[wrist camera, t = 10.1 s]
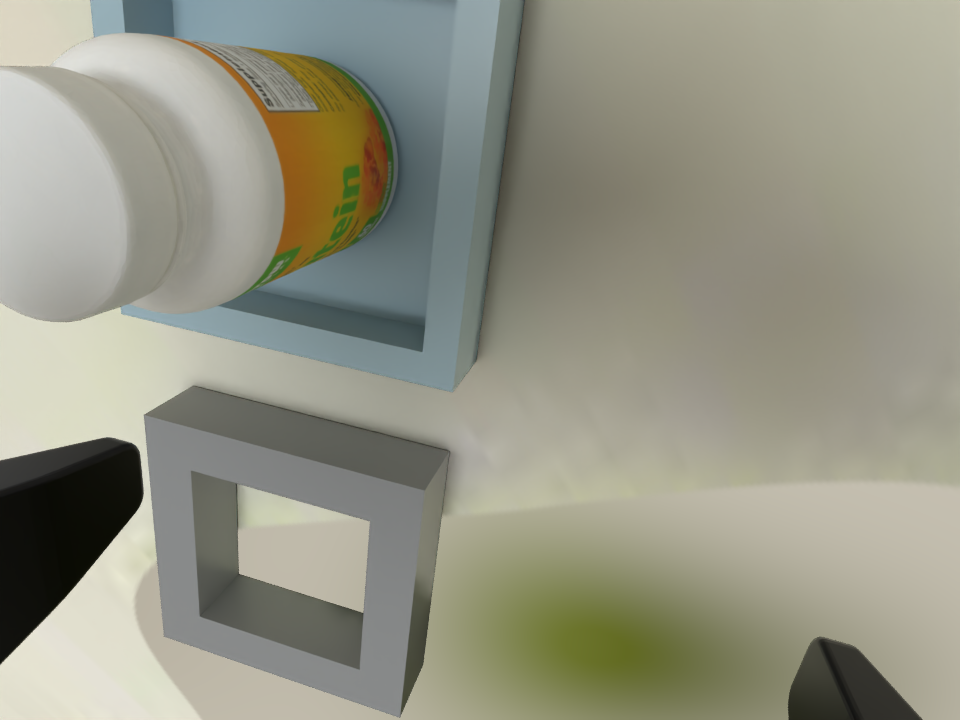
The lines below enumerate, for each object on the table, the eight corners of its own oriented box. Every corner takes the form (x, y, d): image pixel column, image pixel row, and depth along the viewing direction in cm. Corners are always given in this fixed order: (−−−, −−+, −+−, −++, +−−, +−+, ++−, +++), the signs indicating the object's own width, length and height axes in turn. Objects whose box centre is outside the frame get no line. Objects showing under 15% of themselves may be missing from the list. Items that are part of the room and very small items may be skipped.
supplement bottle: (348, 284, 20) (107, 424, 11) (208, 180, 20) (-143, 239, 11) (437, 133, 18) (220, 161, 9) (279, 13, 18) (-96, -73, 9)
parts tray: (529, -39, 16) (507, -63, 14) (476, 360, 21) (452, 392, 18) (152, -77, 18) (80, -102, 16) (175, 293, 23) (121, 313, 20)
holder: (449, 451, 22) (424, 490, 20) (423, 664, 26) (399, 717, 24) (193, 385, 24) (144, 414, 22) (204, 593, 28) (164, 636, 26)
